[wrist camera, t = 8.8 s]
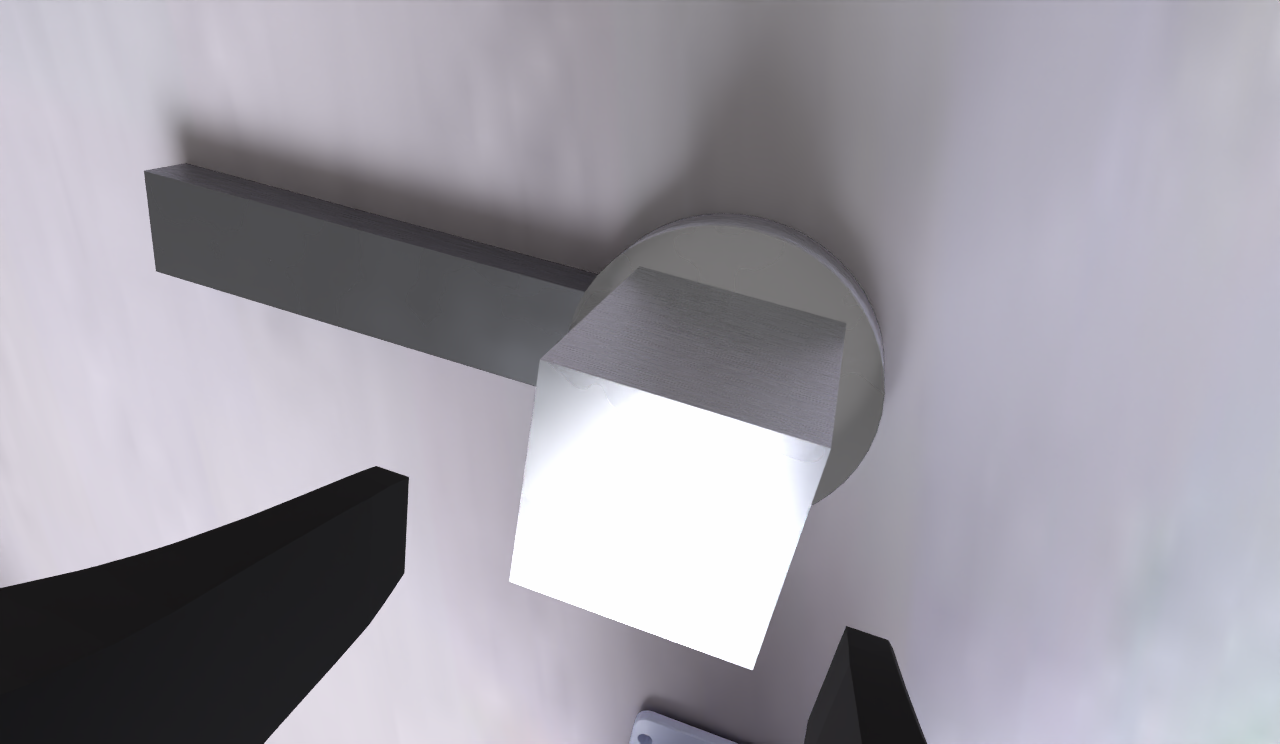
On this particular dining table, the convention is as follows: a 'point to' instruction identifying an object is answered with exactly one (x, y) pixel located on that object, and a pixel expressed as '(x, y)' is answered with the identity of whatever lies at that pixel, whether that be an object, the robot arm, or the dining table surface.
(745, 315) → the brushed metal cube
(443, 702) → the dining table surface
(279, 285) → the ratchet
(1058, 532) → the dining table surface
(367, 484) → the robot arm
